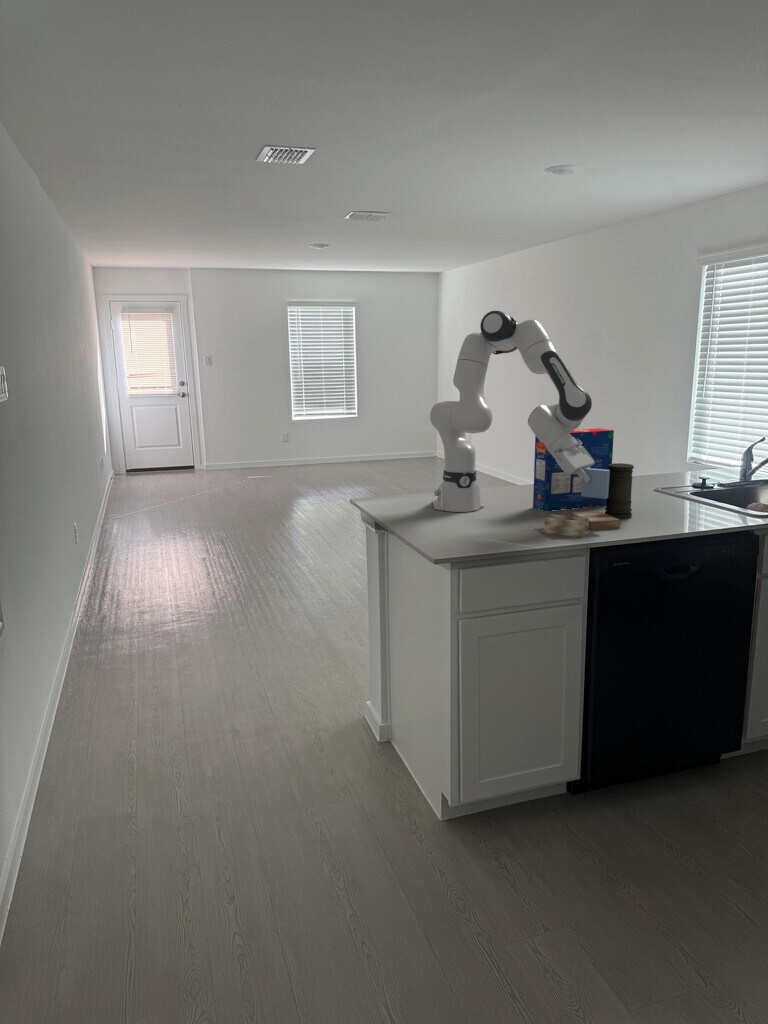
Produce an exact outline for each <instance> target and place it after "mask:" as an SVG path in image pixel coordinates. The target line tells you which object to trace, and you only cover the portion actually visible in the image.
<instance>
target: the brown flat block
mask: <svg viewBox="0 0 768 1024" xmlns="http://www.w3.org/2000/svg"><path fill="white" fill-rule="evenodd" d="M570 516H571V517H580V518H589V524H588V530H589V531H598V530H599V531H600V530H615V529H620V528H621V519H617V518H614V517H612V516H610V515H607V514H605V512H602V511H601V510H593V511H592V510H591V511H576V512H571V513H570Z"/></svg>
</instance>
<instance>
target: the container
mask: <svg viewBox="0 0 768 1024" xmlns="http://www.w3.org/2000/svg"><path fill="white" fill-rule="evenodd" d="M608 468H609V470H610V477H609V491H608V498H607V500H606V501H607V503H606V506H605V509H604V510H605V511H604V513H605V514H607V515H610V516H612V517H614V518H617V519H619V520H625V519H626V518H627V519H631V518H632V517H633V516H632V515H633V513H632V511H633V510H632V490H633V488H632V486H633V469H634V468H635V466H634V465H633V464H631V463H621V462H618V463H612V464H609V465H608Z"/></svg>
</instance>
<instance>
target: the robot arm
mask: <svg viewBox="0 0 768 1024" xmlns="http://www.w3.org/2000/svg"><path fill="white" fill-rule="evenodd" d="M479 326H480V332H472V333H469V334H468V335H466V336H465V338H464V340H463V342H462V344H461V347H460V350H459V353H458V357H457V360H456V364H455V369H454V374H453V379H452V382H453V385H454V387H455V388H456V389H457V390H458V392H459V400H446V401H441V402H440V401H439V402H437V403H435V404H434V405H433V406H432V407H431V410H430V413H429V420H430V423H431V425H432V426H433V428H435V430H436V431H437V433H438V434H439V436H440V439H441V443H442V445H443V450H444V451H443V453H444V470H443V472H442V482H441V483H440V484H439V486H438V488H437V489H434V496H435V497H437V498H435V499H432V500H431V504H432V503H433V504H432V506H434V507H433V509H434V510H435V509H437V510H436V511H444V510H445V511H444V512H452V513H468V512H474V511H478V510H480V509H483V508H485V504H484V503H481V487H480V485H479V483H477V470H476V449H475V447H474V445H472V443H470V441H468V438H467V435H466V434H472V435H473V434H480V433H484V432H486V431H488V430H489V429H490V427H491V426H492V423H493V412H492V410H491V408H490V407H489V404H488V403H487V402H486V399H485V392H484V390H485V389H484V387H485V382H486V376H487V371H488V366H489V363H490V358H491V356H492V354H493V355H502V354H509V353H513V352H515V351H517V350H518V351H519V353H520V355H521V358H522V360H523V362H524V364H525V365H526V367H527V368H528V369H529V371H530V372H531V373H533V374H536V375H545V374H546V375H547V376H548V377H549V379H550V380H551V382H552V384H553V386H554V387H555V389H556V391H557V393H558V403H555V404H549V405H543V404H540V405H538V406H537V407H535V408H534V409H533V410H532V412H530V414H529V415H528V418H527V425H528V427H529V428H530V430H531V431H532V433H533V434H534V435H536V437H537V438H538V439H539V440H540V441H541V442H543V443H544V444H545V446H546V448H547V450H548V451H549V452H550V453H551V455H552V456H553V457H554V458H555V460H556V462H557V463H558V465H559V466H560V467H561V469H562V470H563V471H564V472H565V473H566V474H567V475H571V474H574V473H577V475H578V476H580V477H581V478H583V479H584V481H585V482H589V481H590V480H591V477H590V476H589V475H587V474H586V473H585V472H584V470H583V469H584V468H590V467H591V466H592V465H593V464H594V460H593V458H592V457H591V456H590V454H589V453H588V452H587V450H586V449H585V448H584V447H583V446H581V445H582V442H581V441H580V440H579V439H576V438H574V437H573V436H571V434H570V433H569V432H571V431H573V430H577V429H578V427H580V426H581V424H582V422H583V421H584V420H585V417H586V416H587V415H588V414H589V413H590V411H591V409H592V405H593V403H592V402H593V401H592V398H591V396H590V394H589V393H588V392H587V391H586V390H585V389H584V388H583V387H581V386H580V385H579V383H578V382H577V381H576V379H575V378H574V376H573V375H572V373H571V371H570V370H569V367H568V366H567V364H566V362H565V361H564V360H563V358H562V357H561V356H560V354H559V353H558V351H557V349H556V348H555V345H554V343H553V342H552V339H551V338H550V335H549V334H548V333H547V331H546V329H545V328H544V327H543V325H542V324H541V323H540V322H539V321H538V320H536V319H526V320H524V321H522V322H517V320H516V318H514V317H512V316H510V315H509V314H507V313H505V312H503V311H502V310H490V311H489V312H487V313H486V314H484V316H483V317H482V318H481V321H480V325H479Z"/></svg>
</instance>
